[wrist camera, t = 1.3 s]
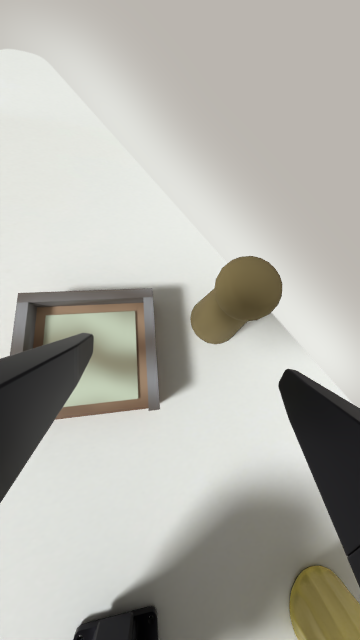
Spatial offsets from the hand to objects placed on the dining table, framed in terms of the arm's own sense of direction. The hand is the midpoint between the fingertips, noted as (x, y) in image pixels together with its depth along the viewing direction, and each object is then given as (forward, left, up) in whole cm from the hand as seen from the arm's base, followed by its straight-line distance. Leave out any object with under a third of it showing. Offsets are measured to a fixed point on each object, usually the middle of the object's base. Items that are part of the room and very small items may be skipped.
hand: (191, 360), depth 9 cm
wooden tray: (+3, +8, -14) cm, 16 cm away
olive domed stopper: (+6, -6, -14) cm, 16 cm away
